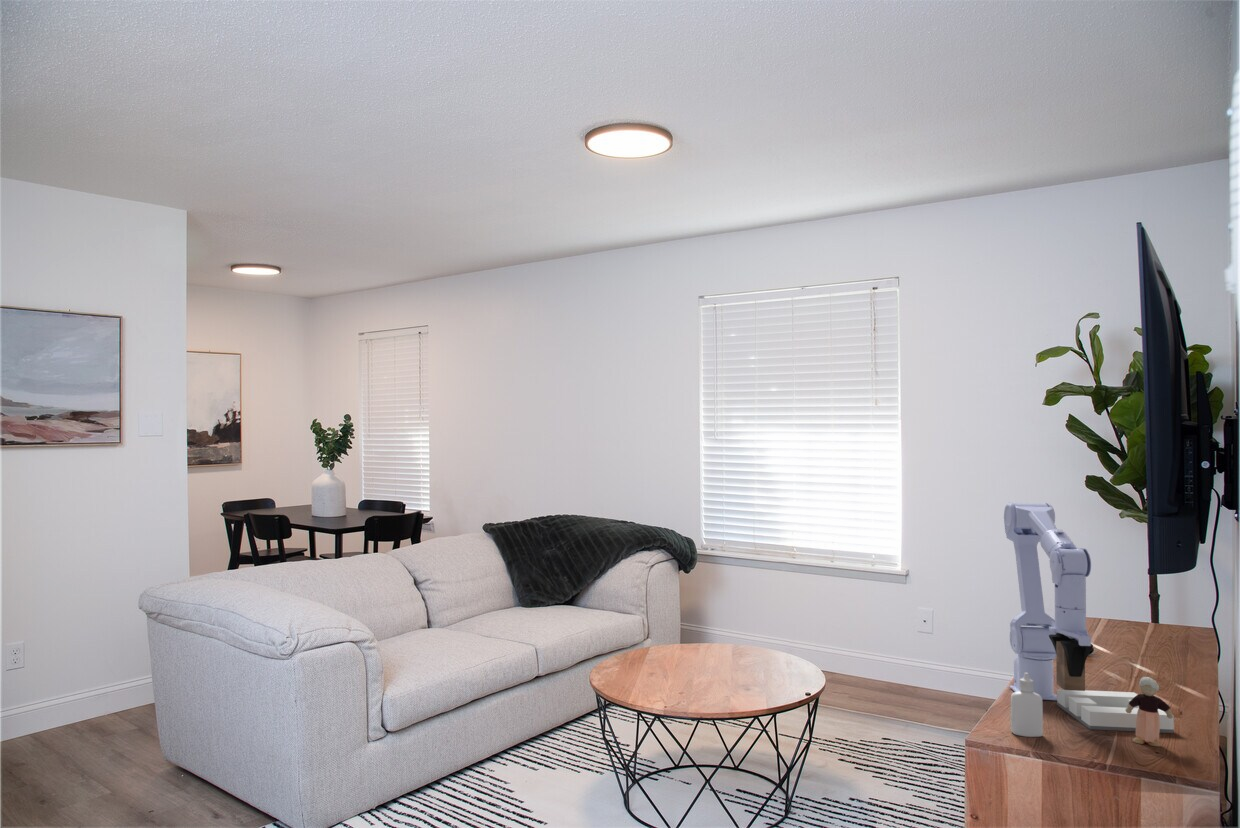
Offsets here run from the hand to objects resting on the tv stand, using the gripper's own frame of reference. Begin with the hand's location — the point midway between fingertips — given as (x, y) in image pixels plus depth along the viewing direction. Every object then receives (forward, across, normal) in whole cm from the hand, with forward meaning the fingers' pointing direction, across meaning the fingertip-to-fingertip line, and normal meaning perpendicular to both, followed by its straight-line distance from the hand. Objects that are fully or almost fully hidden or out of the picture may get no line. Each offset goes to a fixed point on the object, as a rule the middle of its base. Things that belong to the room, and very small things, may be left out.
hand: (1070, 673), depth 174 cm
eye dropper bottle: (+11, +8, -12) cm, 18 cm away
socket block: (+10, -5, +10) cm, 16 cm away
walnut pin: (+3, 0, 0) cm, 3 cm away
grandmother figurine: (+11, +10, +11) cm, 18 cm away
